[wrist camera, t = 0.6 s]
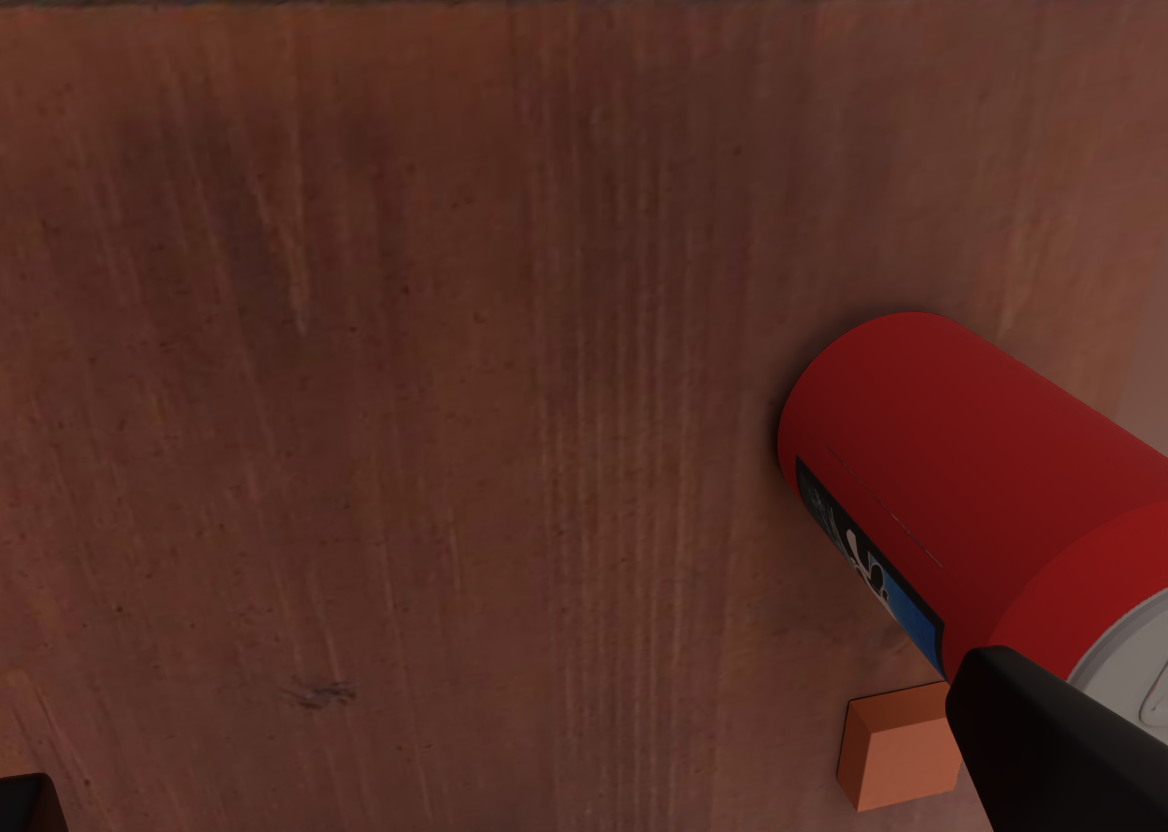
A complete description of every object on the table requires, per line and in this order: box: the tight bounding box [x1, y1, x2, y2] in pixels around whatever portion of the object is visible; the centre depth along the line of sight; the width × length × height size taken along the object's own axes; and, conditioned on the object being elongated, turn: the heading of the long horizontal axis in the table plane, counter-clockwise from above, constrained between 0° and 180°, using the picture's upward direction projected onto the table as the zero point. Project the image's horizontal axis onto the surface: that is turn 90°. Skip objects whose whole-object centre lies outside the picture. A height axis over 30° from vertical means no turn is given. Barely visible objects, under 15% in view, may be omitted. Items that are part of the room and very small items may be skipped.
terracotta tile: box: [837, 681, 962, 812], centre depth 35 cm, size 4×4×2 cm
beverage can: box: [777, 312, 1168, 745], centre depth 23 cm, size 7×7×12 cm
